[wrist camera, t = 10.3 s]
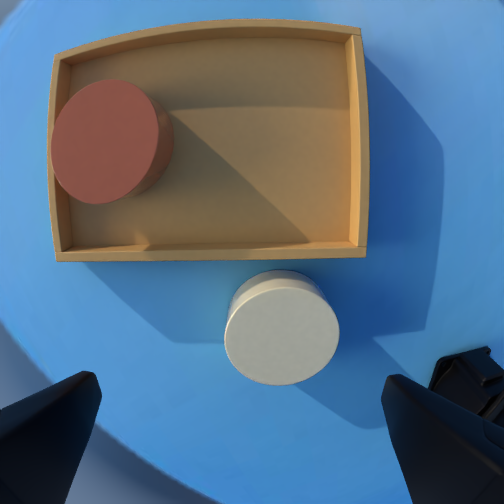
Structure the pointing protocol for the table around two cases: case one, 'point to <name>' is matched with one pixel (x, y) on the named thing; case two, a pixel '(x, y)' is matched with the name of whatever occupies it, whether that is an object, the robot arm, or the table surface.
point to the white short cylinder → (280, 328)
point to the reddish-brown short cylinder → (111, 142)
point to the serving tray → (230, 144)
